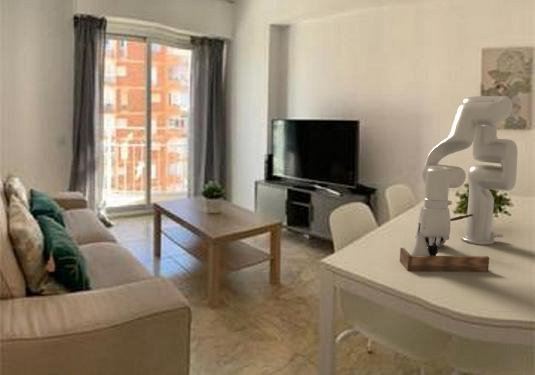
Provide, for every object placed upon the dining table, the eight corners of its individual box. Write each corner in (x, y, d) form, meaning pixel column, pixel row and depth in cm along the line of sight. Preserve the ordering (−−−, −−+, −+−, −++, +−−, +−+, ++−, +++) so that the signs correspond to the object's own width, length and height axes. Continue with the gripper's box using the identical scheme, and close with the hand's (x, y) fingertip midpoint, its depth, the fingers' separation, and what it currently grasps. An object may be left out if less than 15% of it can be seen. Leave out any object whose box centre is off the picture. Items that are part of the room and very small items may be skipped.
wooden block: (475, 261, 168) (476, 248, 167) (488, 271, 158) (489, 257, 157) (399, 261, 168) (400, 247, 167) (407, 270, 158) (408, 256, 157)
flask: (422, 255, 167) (423, 228, 166) (435, 261, 161) (436, 233, 159) (405, 258, 165) (405, 230, 163) (417, 264, 158) (418, 235, 157)
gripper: (453, 202, 164) (449, 252, 167) (410, 201, 164) (407, 252, 167) (462, 206, 156) (457, 259, 160) (417, 206, 156) (413, 259, 159)
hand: (432, 255), depth 163 cm, fingers closed
